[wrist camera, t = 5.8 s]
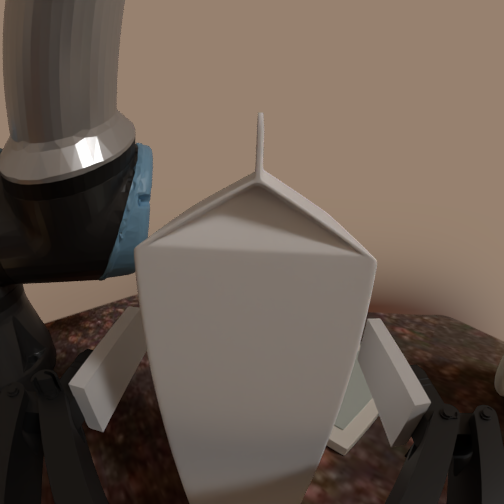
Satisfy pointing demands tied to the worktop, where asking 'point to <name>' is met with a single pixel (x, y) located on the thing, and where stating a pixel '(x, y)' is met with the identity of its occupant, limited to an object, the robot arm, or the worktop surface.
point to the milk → (251, 336)
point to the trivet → (353, 413)
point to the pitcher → (500, 378)
